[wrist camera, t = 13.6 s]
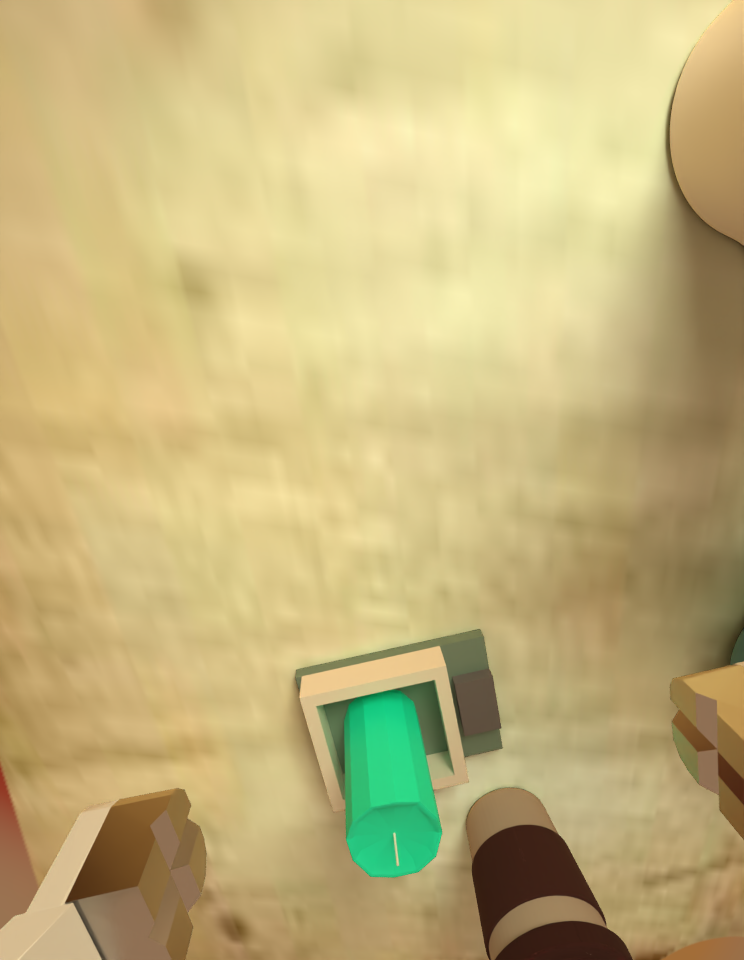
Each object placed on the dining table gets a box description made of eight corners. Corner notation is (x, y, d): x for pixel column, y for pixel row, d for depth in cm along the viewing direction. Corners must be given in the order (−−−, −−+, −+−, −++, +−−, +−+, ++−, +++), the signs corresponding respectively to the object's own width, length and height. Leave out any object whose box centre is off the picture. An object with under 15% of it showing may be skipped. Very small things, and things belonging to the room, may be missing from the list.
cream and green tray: (480, 629, 41) (492, 655, 38) (499, 739, 44) (512, 772, 41) (296, 669, 41) (292, 699, 38) (328, 777, 44) (327, 813, 41)
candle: (394, 759, 43) (414, 915, 31) (330, 732, 42) (327, 883, 30) (431, 705, 42) (467, 846, 30) (367, 675, 41) (379, 810, 29)
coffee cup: (462, 768, 45) (520, 972, 31) (570, 776, 46) (676, 978, 32) (440, 855, 48) (485, 1082, 33) (543, 861, 49) (630, 1084, 34)
